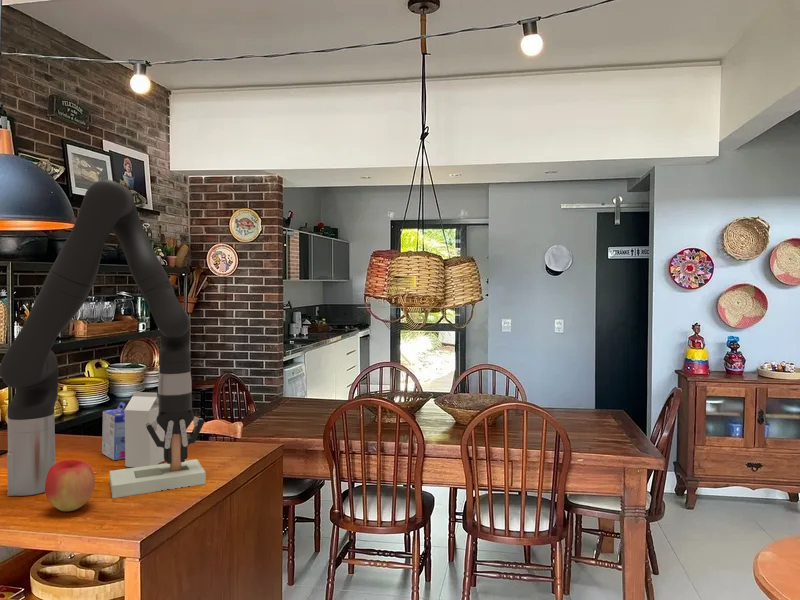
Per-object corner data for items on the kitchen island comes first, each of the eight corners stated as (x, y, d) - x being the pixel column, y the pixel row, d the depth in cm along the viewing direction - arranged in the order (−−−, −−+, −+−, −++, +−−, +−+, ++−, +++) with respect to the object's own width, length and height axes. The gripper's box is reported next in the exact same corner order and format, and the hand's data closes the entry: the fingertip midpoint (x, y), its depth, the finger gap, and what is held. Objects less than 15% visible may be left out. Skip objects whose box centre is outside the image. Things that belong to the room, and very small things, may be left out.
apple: (33, 516, 122) (32, 468, 122) (65, 500, 132) (65, 455, 131) (76, 519, 121) (76, 470, 121) (106, 502, 130) (105, 456, 130)
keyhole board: (112, 498, 133) (112, 485, 133) (110, 482, 143) (109, 470, 143) (205, 484, 142) (205, 472, 142) (196, 470, 153) (196, 459, 153)
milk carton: (149, 468, 154) (148, 395, 153) (125, 467, 155) (124, 394, 155) (165, 460, 161) (164, 390, 160) (142, 459, 162) (141, 389, 162)
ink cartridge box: (135, 457, 164) (134, 404, 164) (114, 461, 160) (113, 407, 160) (122, 450, 171) (121, 399, 171) (101, 454, 168) (100, 402, 167)
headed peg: (166, 483, 142) (166, 436, 141) (164, 477, 146) (164, 432, 145) (187, 480, 144) (186, 434, 143) (184, 474, 148) (184, 429, 147)
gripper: (145, 396, 138) (146, 470, 138) (207, 390, 144) (208, 462, 145) (142, 390, 144) (143, 462, 145) (202, 386, 151) (202, 454, 151)
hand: (175, 461), depth 145 cm, fingers closed on headed peg, 2 cm apart
